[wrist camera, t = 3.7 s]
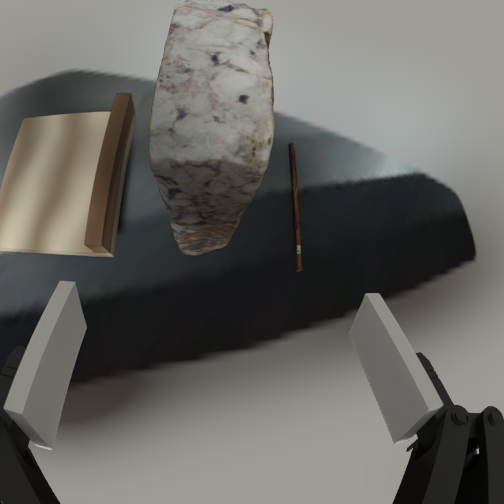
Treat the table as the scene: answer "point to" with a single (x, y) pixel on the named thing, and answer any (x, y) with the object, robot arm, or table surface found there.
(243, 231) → the table surface
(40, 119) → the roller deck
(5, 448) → the robot arm
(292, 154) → the dark brown thin bar
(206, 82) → the stone block
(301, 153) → the table surface
